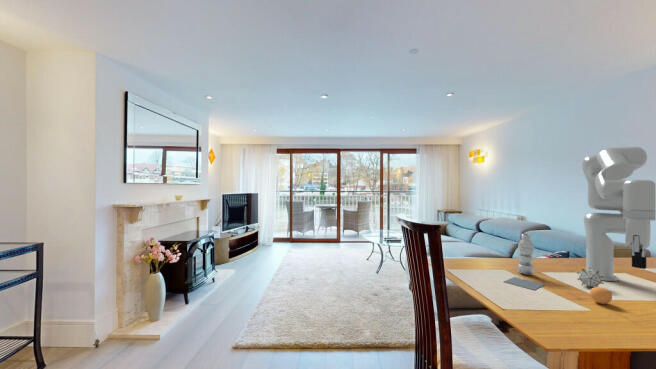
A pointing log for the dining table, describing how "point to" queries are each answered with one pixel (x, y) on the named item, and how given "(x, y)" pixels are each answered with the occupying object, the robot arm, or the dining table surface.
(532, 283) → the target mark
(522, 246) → the plastic bottle
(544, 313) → the dining table surface
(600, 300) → the ball
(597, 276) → the grey spiky ball
